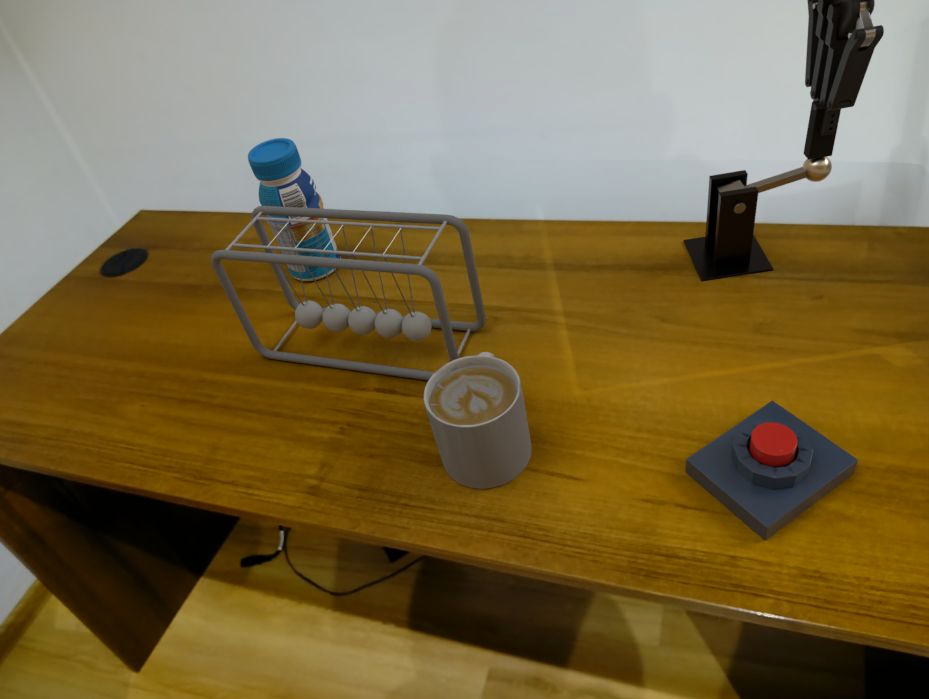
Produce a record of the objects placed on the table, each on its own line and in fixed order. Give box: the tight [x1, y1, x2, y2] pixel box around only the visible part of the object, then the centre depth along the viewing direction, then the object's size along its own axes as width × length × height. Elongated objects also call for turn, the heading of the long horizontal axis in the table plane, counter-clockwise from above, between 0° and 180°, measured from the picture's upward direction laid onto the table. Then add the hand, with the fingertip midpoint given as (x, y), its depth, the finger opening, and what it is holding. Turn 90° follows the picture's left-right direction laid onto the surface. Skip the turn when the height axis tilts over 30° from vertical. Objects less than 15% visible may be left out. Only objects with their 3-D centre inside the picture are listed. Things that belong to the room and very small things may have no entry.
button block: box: [684, 400, 859, 542], centre depth 69 cm, size 12×10×4 cm
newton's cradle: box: [210, 205, 487, 382], centre depth 89 cm, size 30×10×18 cm, turn 71°
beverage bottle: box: [247, 137, 342, 282], centre depth 104 cm, size 8×8×20 cm
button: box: [750, 423, 797, 467], centre depth 68 cm, size 4×4×2 cm
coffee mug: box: [423, 351, 533, 490], centre depth 76 cm, size 13×10×10 cm
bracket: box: [683, 169, 774, 282], centre depth 91 cm, size 9×9×12 cm
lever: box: [717, 156, 833, 196], centre depth 87 cm, size 13×3×3 cm, turn 92°
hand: (817, 154), depth 85 cm, fingers closed
